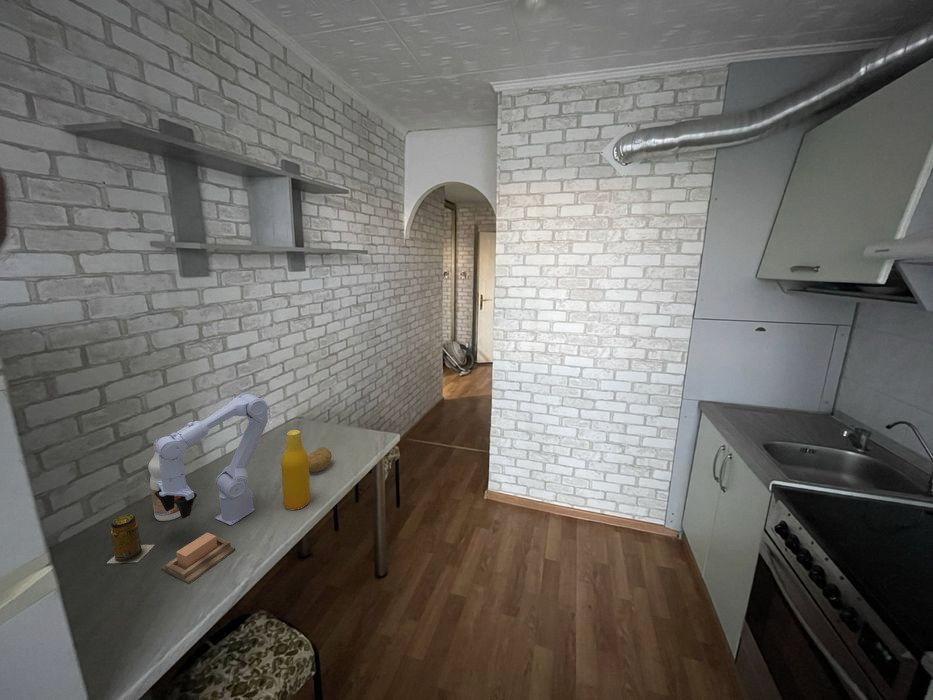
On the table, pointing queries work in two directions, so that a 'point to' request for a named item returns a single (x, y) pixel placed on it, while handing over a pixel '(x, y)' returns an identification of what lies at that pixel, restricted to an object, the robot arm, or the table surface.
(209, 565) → the cradle jig
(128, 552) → the condiment
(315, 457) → the potato
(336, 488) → the table surface
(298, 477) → the yellow bottle
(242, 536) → the table surface
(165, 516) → the fruit juice
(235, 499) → the robot arm
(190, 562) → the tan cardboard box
